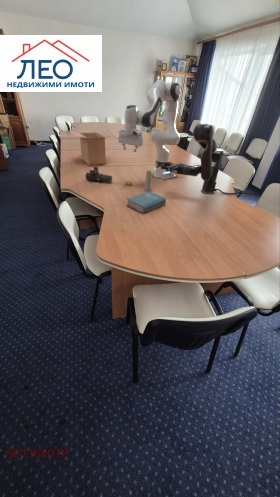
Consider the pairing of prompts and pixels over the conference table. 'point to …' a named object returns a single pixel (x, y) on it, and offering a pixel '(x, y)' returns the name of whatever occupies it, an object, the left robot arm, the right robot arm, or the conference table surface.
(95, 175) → the laser sight
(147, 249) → the conference table surface
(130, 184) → the lid
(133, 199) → the book
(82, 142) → the box
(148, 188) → the jar
